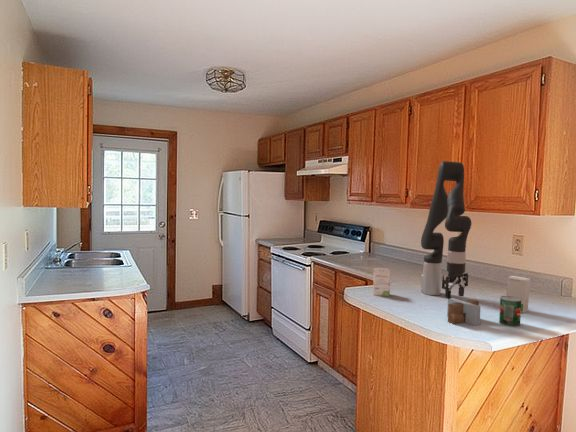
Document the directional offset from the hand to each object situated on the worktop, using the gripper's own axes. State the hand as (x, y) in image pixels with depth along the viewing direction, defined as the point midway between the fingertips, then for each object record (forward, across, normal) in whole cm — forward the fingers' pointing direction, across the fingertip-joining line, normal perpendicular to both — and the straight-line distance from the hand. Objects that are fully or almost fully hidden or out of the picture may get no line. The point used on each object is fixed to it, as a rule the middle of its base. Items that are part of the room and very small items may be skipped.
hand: (454, 297), depth 178 cm
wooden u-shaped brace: (+9, 0, +5) cm, 10 cm away
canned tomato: (+9, -14, +17) cm, 24 cm away
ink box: (+10, +2, -44) cm, 45 cm away
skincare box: (+9, -36, +7) cm, 38 cm away
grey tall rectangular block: (+9, 0, +5) cm, 10 cm away
